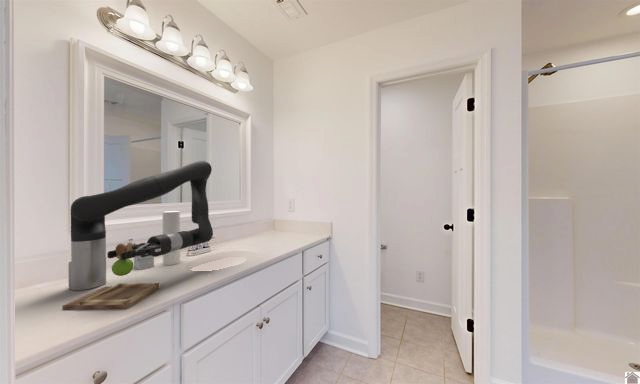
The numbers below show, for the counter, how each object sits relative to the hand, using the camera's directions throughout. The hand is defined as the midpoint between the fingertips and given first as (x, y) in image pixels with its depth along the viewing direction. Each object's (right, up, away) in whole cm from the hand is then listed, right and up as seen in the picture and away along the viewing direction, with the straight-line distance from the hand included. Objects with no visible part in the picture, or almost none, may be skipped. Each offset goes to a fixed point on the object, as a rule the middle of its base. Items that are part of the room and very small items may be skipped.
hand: (114, 256), depth 74 cm
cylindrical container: (-8, -15, +41) cm, 44 cm away
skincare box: (-17, -15, +35) cm, 42 cm away
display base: (-2, -14, +2) cm, 15 cm away
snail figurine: (+1, -7, +2) cm, 8 cm away
